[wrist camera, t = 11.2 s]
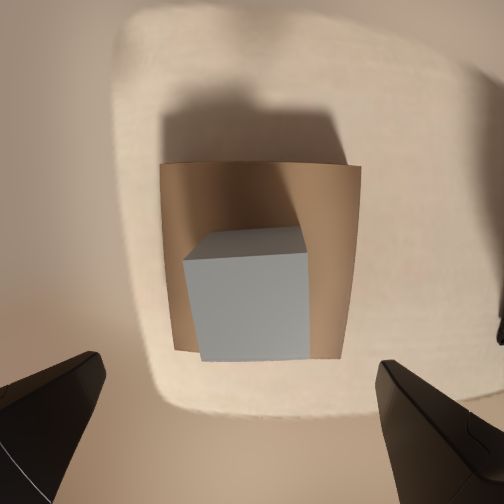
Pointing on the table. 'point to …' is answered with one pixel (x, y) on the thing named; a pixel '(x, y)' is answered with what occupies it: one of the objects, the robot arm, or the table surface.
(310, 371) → the table surface
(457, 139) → the table surface
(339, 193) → the block
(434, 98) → the table surface
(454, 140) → the table surface
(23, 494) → the robot arm
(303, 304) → the slate cube
